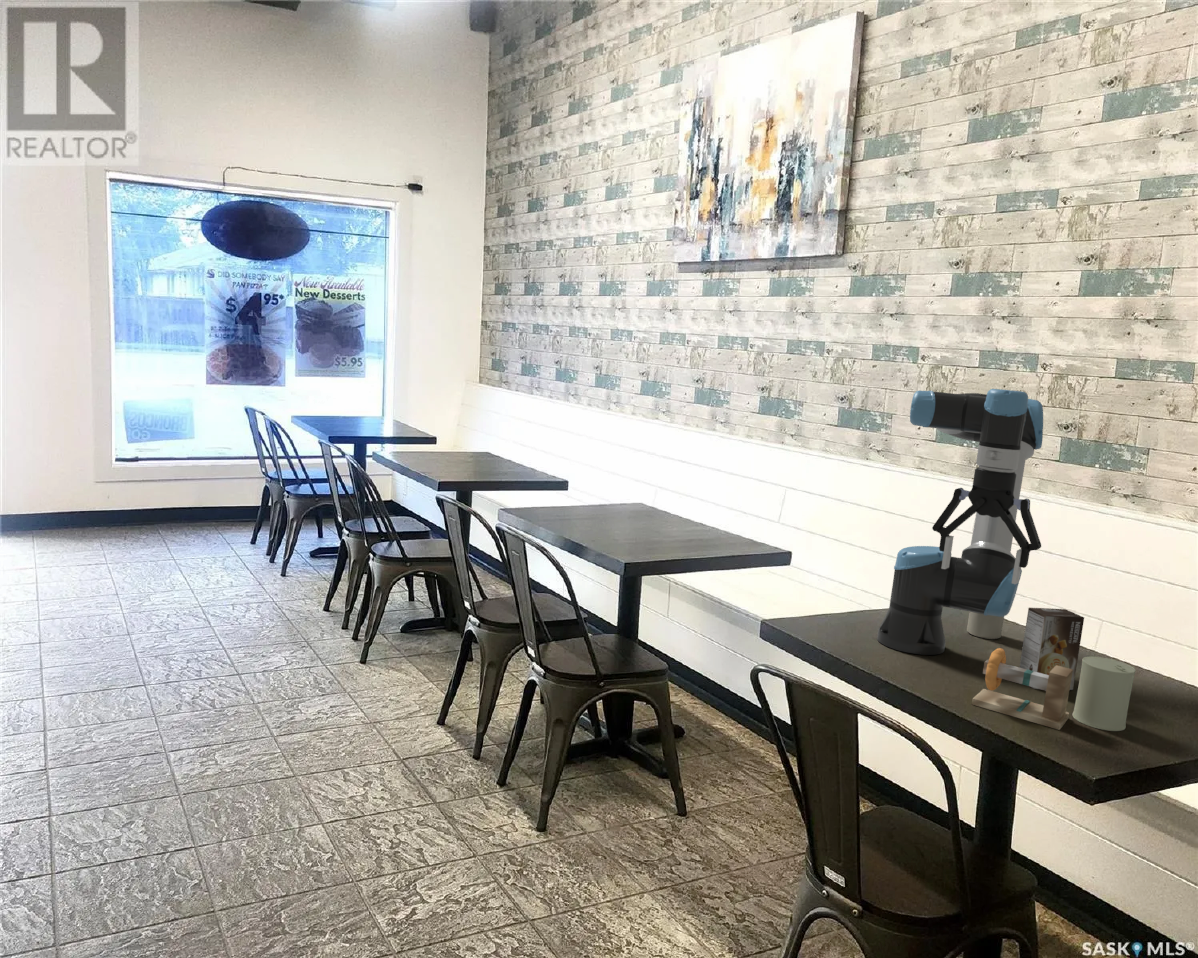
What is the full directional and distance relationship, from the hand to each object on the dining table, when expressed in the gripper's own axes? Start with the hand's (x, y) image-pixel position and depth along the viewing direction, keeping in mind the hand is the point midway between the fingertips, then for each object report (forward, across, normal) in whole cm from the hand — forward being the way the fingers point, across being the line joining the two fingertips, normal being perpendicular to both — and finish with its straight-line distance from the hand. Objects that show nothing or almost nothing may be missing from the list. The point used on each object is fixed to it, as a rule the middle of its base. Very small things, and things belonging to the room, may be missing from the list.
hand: (979, 575), depth 188 cm
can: (+25, +24, +7) cm, 35 cm away
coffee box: (+25, +12, +22) cm, 35 cm away
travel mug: (+25, -8, +50) cm, 56 cm away
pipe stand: (+25, +11, 0) cm, 27 cm away
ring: (+22, +6, 0) cm, 22 cm away
